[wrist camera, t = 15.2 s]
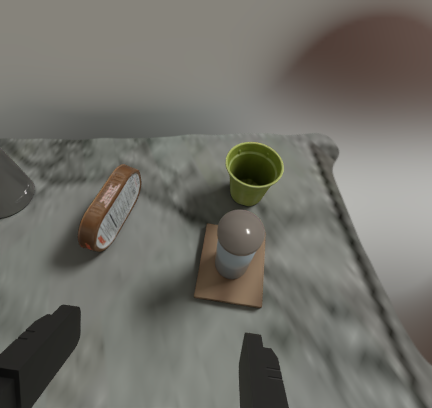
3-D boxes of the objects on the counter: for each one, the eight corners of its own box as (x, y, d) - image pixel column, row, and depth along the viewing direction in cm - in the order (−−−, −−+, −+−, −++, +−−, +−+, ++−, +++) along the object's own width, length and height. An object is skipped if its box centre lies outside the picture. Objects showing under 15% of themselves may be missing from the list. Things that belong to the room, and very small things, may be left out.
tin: (132, 183, 49) (121, 152, 42) (148, 187, 49) (138, 157, 41) (89, 255, 42) (65, 233, 34) (106, 261, 41) (86, 240, 34)
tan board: (194, 297, 39) (193, 296, 38) (206, 226, 45) (207, 223, 44) (260, 308, 39) (261, 307, 38) (264, 235, 45) (265, 232, 44)
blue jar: (211, 277, 39) (214, 248, 29) (216, 243, 42) (221, 206, 32) (247, 283, 39) (263, 256, 29) (250, 248, 42) (266, 213, 32)
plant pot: (252, 166, 53) (261, 134, 45) (281, 201, 49) (295, 172, 41) (212, 184, 50) (214, 154, 42) (239, 222, 46) (247, 196, 38)
